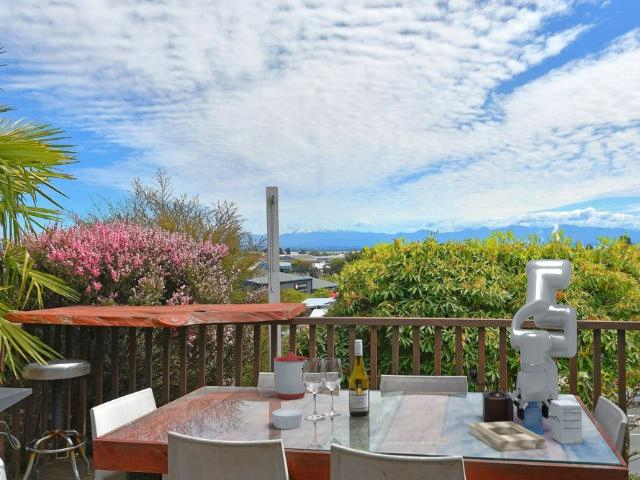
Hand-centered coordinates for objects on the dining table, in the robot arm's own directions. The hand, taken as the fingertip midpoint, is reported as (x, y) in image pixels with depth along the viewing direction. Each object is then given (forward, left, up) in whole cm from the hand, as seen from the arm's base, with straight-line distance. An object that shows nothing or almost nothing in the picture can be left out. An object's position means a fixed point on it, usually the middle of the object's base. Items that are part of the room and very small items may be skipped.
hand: (532, 418), depth 214 cm
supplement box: (-5, +12, -5) cm, 14 cm away
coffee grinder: (+7, -18, -5) cm, 20 cm away
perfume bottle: (0, 0, -5) cm, 5 cm away
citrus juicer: (+74, -73, -5) cm, 104 cm away
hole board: (+14, +7, -5) cm, 16 cm away
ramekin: (+83, -25, -5) cm, 87 cm away
